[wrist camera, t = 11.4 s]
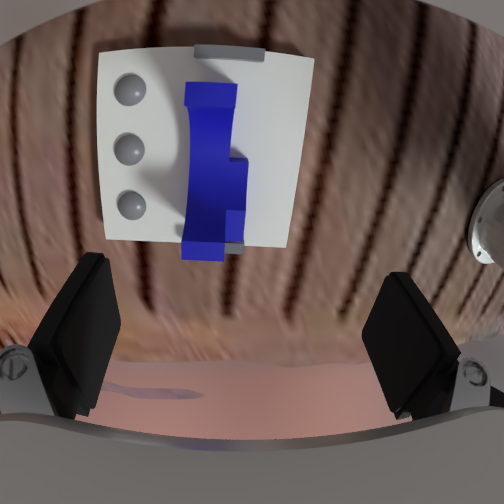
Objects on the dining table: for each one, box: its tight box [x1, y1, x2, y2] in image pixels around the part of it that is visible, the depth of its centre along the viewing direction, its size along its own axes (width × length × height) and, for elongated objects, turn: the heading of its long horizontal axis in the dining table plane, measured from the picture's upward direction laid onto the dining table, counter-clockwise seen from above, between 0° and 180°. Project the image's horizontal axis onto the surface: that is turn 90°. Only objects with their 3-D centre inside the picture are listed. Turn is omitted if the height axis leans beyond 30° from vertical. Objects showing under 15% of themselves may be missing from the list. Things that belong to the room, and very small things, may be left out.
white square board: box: [97, 44, 314, 254], centre depth 23 cm, size 17×17×4 cm
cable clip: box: [181, 82, 249, 261], centre depth 21 cm, size 12×4×6 cm, turn 174°
